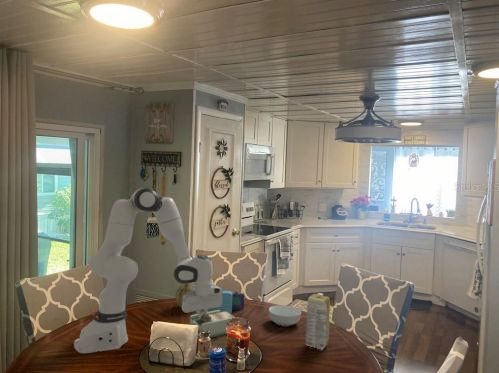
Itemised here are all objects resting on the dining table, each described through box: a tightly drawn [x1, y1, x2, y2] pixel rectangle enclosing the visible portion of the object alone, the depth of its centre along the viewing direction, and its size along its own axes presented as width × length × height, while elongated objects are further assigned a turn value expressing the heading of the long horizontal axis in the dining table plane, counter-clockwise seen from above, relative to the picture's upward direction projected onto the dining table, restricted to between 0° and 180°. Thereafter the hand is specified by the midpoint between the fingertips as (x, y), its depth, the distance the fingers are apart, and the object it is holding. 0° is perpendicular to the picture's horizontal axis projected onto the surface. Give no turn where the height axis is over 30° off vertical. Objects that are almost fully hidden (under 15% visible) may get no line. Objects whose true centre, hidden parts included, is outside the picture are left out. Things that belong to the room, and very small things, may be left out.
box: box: [189, 310, 232, 338], centre depth 193 cm, size 16×13×7 cm
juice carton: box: [305, 292, 331, 351], centre depth 181 cm, size 9×8×24 cm
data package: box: [208, 290, 233, 315], centre depth 217 cm, size 12×4×12 cm, turn 91°
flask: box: [232, 289, 245, 311], centre depth 225 cm, size 9×3×11 cm, turn 91°
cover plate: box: [200, 311, 237, 323], centre depth 195 cm, size 15×9×4 cm, turn 124°
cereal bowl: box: [268, 304, 302, 327], centre depth 206 cm, size 17×17×7 cm
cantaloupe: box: [175, 282, 194, 309], centre depth 222 cm, size 15×15×15 cm
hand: (201, 318), depth 190 cm, fingers closed
